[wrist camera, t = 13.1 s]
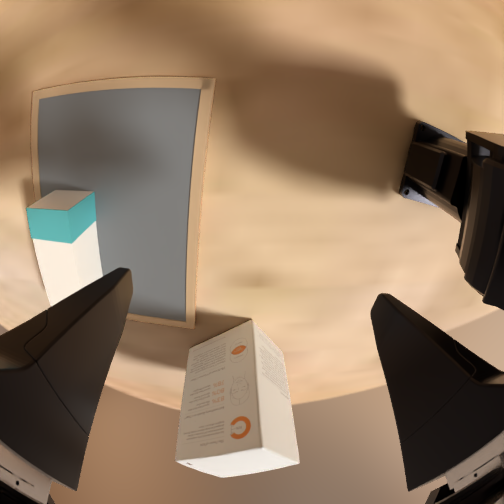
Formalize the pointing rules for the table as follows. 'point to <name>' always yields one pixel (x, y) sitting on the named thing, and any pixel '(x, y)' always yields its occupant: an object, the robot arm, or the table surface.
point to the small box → (236, 406)
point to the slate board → (133, 178)
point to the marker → (65, 241)
